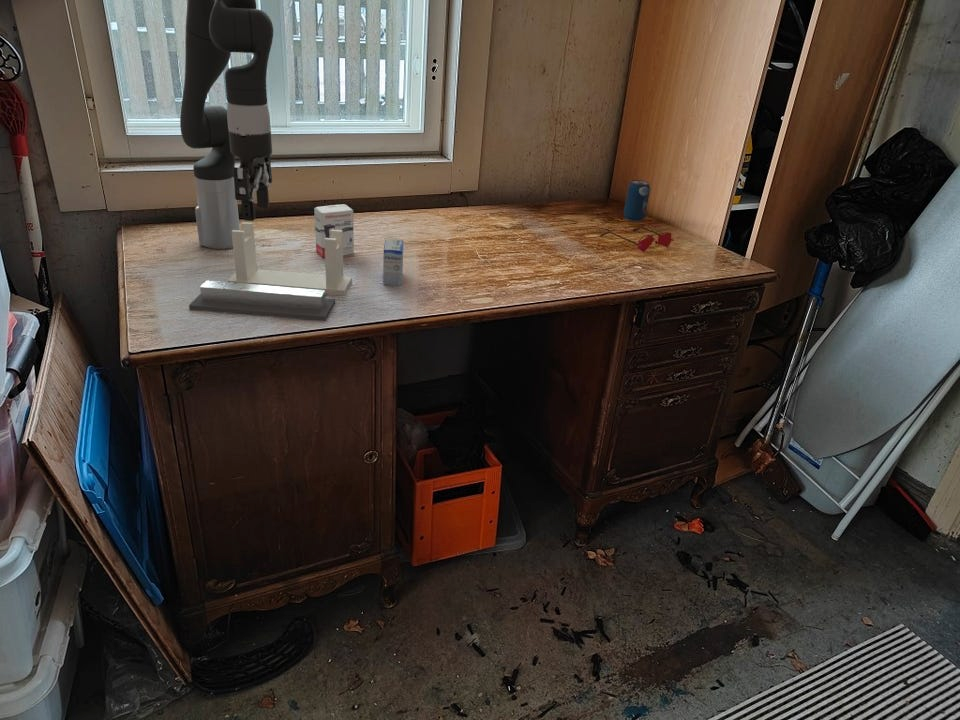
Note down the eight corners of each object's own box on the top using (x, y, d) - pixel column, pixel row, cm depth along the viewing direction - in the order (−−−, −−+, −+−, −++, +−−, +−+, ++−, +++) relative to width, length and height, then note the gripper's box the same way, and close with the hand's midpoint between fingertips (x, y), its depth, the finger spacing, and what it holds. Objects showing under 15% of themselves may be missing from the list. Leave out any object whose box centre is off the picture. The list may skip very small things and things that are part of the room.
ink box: (323, 258, 172) (321, 212, 166) (315, 252, 175) (313, 206, 169) (354, 254, 176) (354, 209, 170) (346, 248, 179) (345, 203, 174)
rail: (201, 300, 143) (200, 286, 141) (208, 293, 146) (206, 280, 144) (321, 310, 143) (321, 297, 141) (325, 303, 146) (325, 290, 144)
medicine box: (384, 272, 166) (384, 238, 162) (402, 273, 167) (403, 239, 163) (382, 285, 160) (383, 249, 155) (402, 286, 160) (402, 250, 156)
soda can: (646, 222, 220) (653, 185, 214) (624, 221, 220) (631, 183, 214) (642, 216, 226) (648, 180, 220) (621, 214, 226) (627, 178, 220)
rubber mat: (189, 309, 141) (188, 305, 140) (206, 292, 149) (206, 288, 148) (325, 321, 141) (325, 316, 140) (335, 303, 149) (335, 299, 148)
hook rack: (228, 285, 153) (222, 231, 147) (240, 272, 160) (235, 220, 154) (344, 295, 153) (343, 241, 147) (351, 282, 160) (351, 230, 154)
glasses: (638, 254, 193) (641, 237, 191) (599, 236, 205) (601, 220, 203) (672, 248, 200) (676, 232, 198) (632, 231, 212) (635, 215, 210)
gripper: (242, 120, 134) (249, 202, 141) (214, 133, 121) (224, 223, 129) (281, 123, 134) (286, 205, 141) (257, 137, 121) (264, 226, 129)
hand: (256, 213), depth 135 cm, fingers open, 8 cm apart
